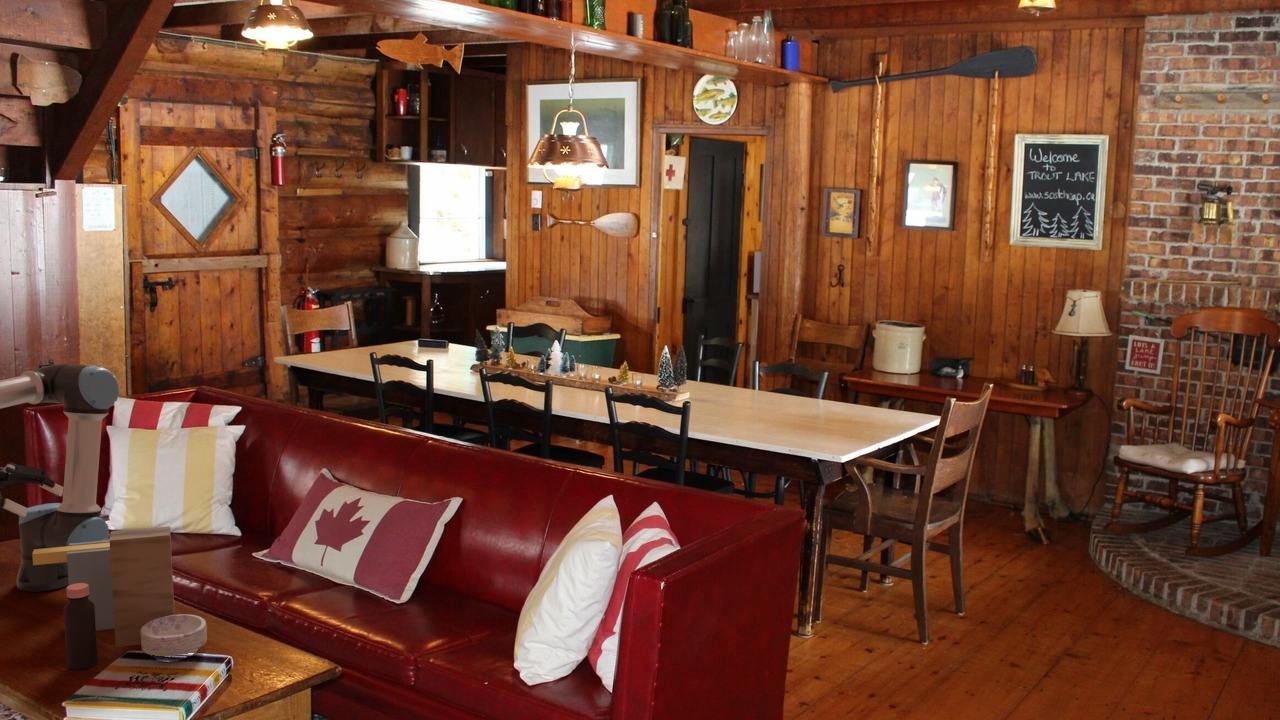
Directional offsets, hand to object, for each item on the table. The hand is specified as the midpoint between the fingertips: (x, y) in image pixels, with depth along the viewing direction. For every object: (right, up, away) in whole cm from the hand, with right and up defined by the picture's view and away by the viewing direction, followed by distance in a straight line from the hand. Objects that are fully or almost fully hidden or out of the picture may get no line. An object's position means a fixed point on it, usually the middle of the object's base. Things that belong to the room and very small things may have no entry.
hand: (43, 502), depth 317 cm
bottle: (+25, -36, -30) cm, 53 cm away
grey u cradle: (+19, -32, -4) cm, 37 cm away
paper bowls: (+45, -35, -23) cm, 62 cm away
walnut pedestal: (+33, -33, -13) cm, 49 cm away
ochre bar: (+15, -14, -8) cm, 22 cm away
